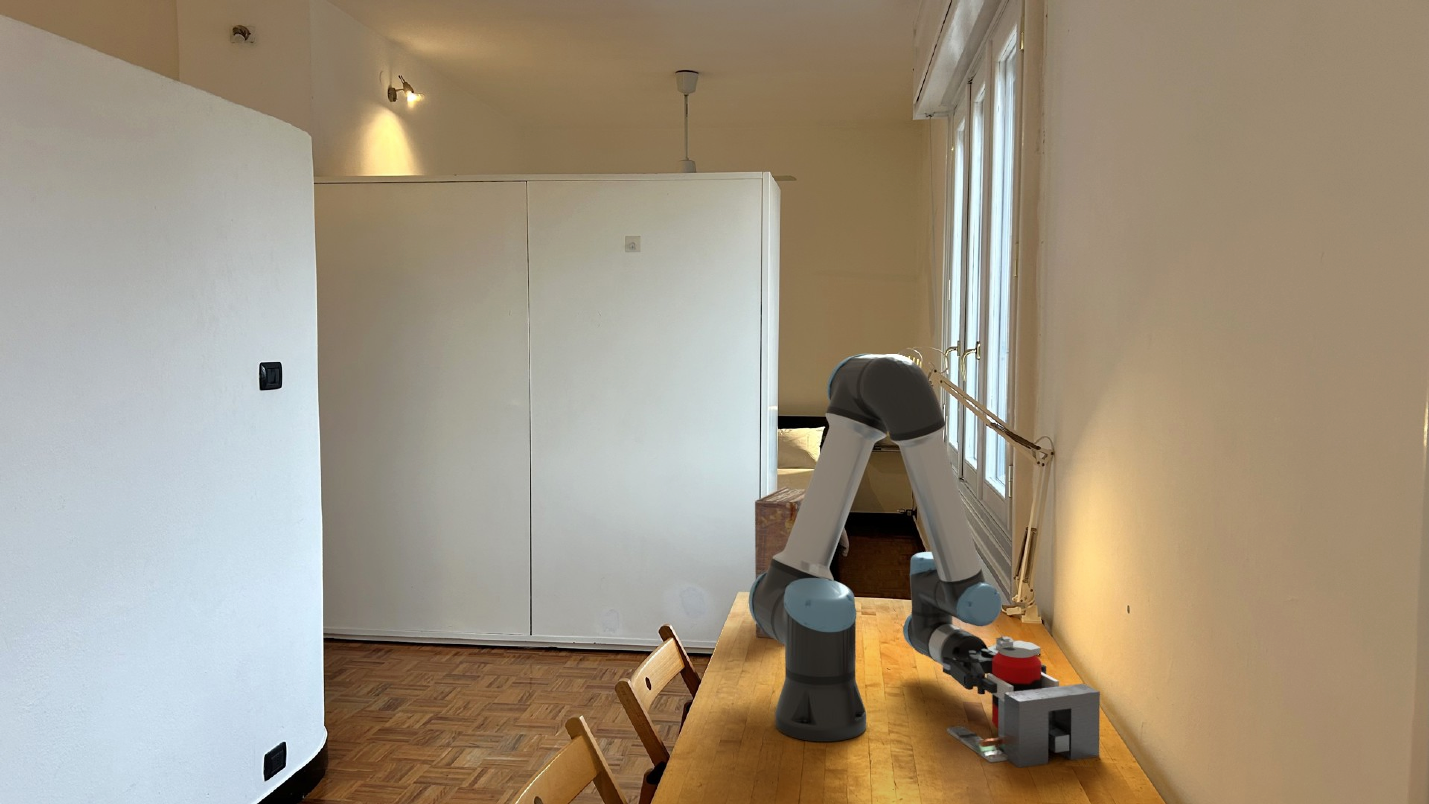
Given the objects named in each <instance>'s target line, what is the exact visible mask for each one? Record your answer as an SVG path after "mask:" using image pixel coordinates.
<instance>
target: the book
mask: <svg viewBox="0 0 1429 804" xmlns="http://www.w3.org/2000/svg"><path fill="white" fill-rule="evenodd" d="M806 490H807V489H804V488H803V489H798V488H797V489H796V488H789V486H788V485H787V486H783V487H781V488H779V489H778V490H777V489H776V490H775V491H773V492H771V493H770V494H767V495H764V496H763V497H761V498H759V499H757V500H754V527H755V528H754V536H755V537H754V538H755V539H754V541H755V546H754V548H755V554H754V555H755V560H754V561H755V562H754V563H755V567H754V569H755V580H756V579H757V578H758V577H759V576H760V575H761V574H763V573H764V572H766V571H768V568H769V565H770V563H771V560H772V558H773V556H774V555H776V554H778V553H780V552H783V551H784V549H785V547H786V544H787V542H788V539H789V536H790V533H791V531H792V528H793V525H794V523H795V520H796V517H797V514H798V512H799V509H800V506H801V504H802V501H803V498H804V495H805V493H806ZM755 637H756V638H764V639H765V638H766V639H773V638H772V637H770V636H768V635H767V634H766V633H765V632H763V631H762V630H761V629H760V627H759V626H758V625H757V624H756V623H755Z"/></svg>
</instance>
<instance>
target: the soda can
mask: <svg viewBox="0 0 1429 804" xmlns="http://www.w3.org/2000/svg"><path fill="white" fill-rule="evenodd" d="M1041 664H1042V661H1041V660H1040V658H1039V656H1038V655H1037V656H1036V654H1035V652H1033V651H1032V650H1029V649H1025V648H1019V647H1006V648H1002V649H1000V650H999V651H998V652H997V654H996V655H995V656H994V657H993V659H992V675H994V676H996V677H997V678H999V679H1001V680H1003V681H1005V682H1006V683H1008V684H1010V685H1012V686H1013V692H1017V691H1025V690H1033V689H1041ZM991 696H992V697H991V698H992V699H991V701H992V703H991V706H992V707H991V709H992V710H991V716H992V717H991V721H992V724H993V725H994V726H995V727H996V728H997V729H998V707H999V698H998V697H997V696H995V695H993V694H992V695H991Z"/></svg>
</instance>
